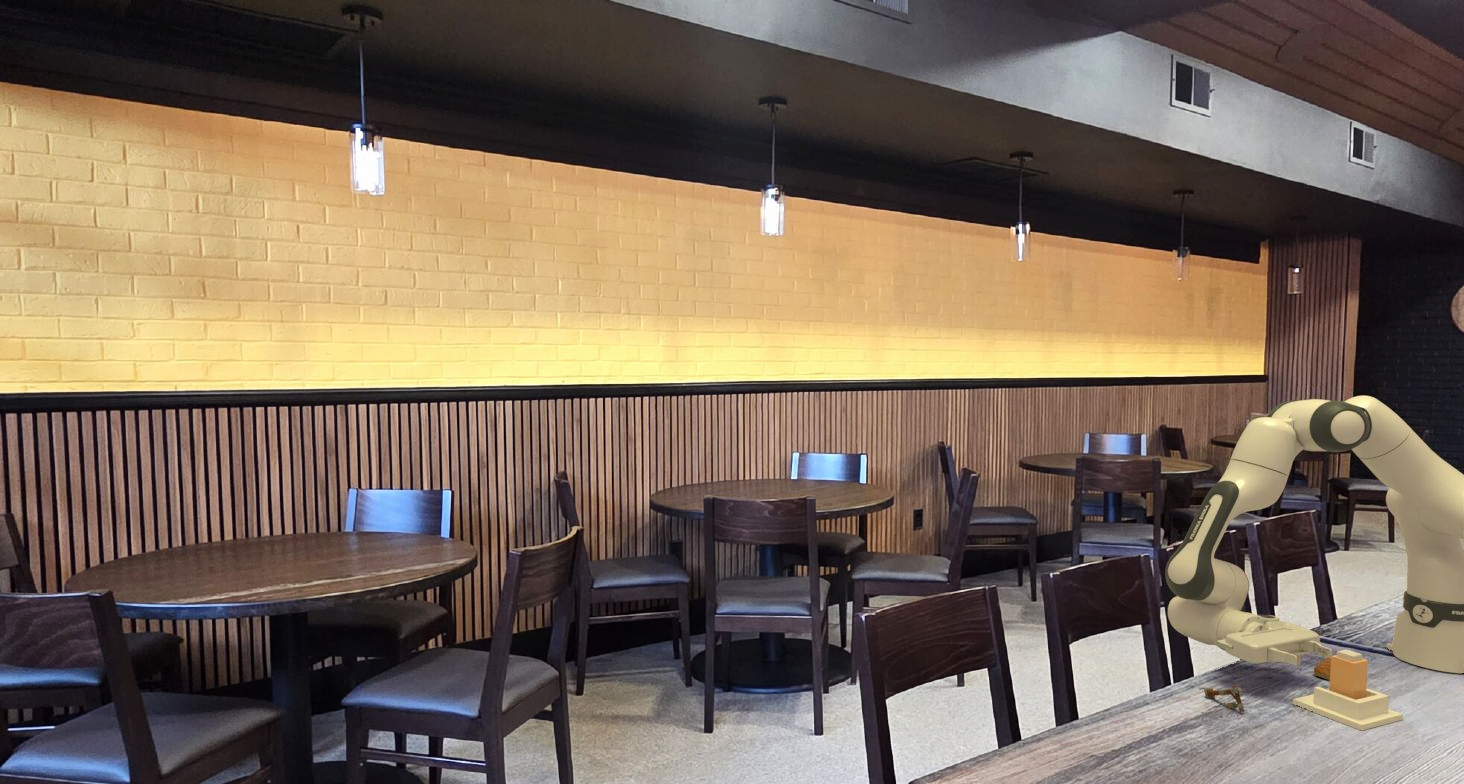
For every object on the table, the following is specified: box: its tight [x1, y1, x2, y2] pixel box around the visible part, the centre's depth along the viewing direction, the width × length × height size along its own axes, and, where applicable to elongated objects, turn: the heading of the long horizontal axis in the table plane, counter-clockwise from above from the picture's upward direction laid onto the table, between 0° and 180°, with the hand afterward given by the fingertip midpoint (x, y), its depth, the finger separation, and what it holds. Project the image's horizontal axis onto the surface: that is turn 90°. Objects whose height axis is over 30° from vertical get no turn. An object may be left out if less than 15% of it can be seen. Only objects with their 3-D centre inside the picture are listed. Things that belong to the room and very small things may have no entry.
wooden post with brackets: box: [1203, 685, 1245, 713], centre depth 160 cm, size 2×8×4 cm, turn 15°
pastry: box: [1313, 658, 1331, 681], centre depth 176 cm, size 9×7×4 cm
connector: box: [1328, 649, 1369, 700], centre depth 158 cm, size 4×4×10 cm
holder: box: [1292, 686, 1404, 732], centre depth 158 cm, size 12×12×4 cm
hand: (1314, 657), depth 163 cm, fingers open, 8 cm apart
